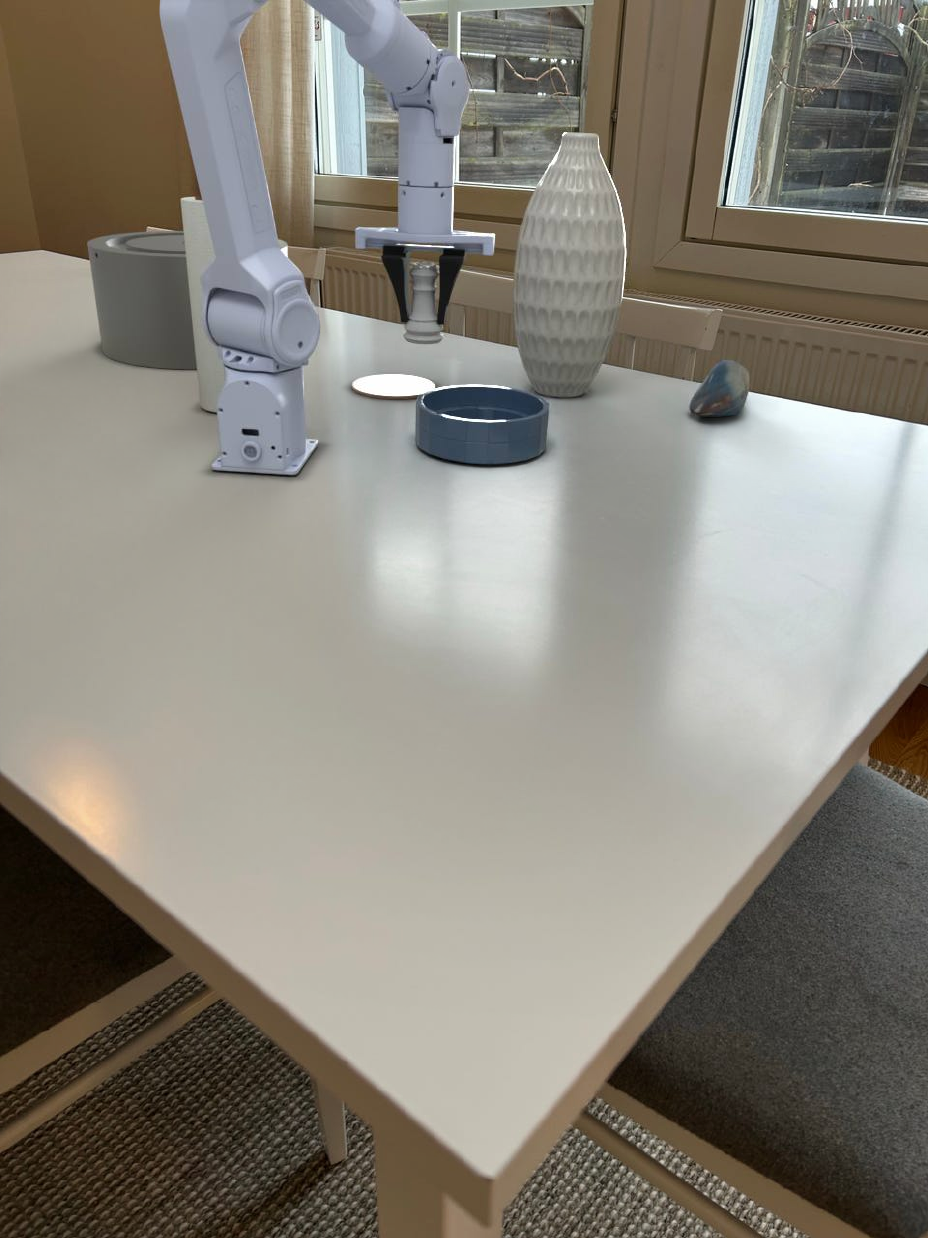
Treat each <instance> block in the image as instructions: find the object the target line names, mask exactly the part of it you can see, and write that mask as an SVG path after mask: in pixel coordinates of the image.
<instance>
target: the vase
mask: <svg viewBox="0 0 928 1238" xmlns="http://www.w3.org/2000/svg"><path fill="white" fill-rule="evenodd" d="M599 140H600V139H599V135H598V134H597V133H593V132H591V133H590V132H571V131H569V132H567V131H566V132H563V134H562V137H561V142H560V146H559V149H558V151H557V152H556V154H555V156H554V157H553V159H552V161H551V163H549V165H548V167H547V168H546V170H545V171H544V173H543V175H542V176H541V178H540V180H539V181H538V183H537V185H536V187H535V189H534V191H533V193H532V195H531V196H530V200H529V201H528V204H527V207H526V210H525V212H524V214H523V219H522V222H521V226H520V229H519V233H518V238H517V242H516V247H515V257H514V267H513V280H512V317H513V329H514V330H513V331H514V335H515V340H516V345H517V350H518V353H519V357H520V360H521V363H522V367H523V369H524V372H525V374H526V376H527V378H528V379H529V383H530V385H531V386H532V388H533V390H534V391H535V392H536V393H537V394H539V395H542V396H545V397H551V398H563V399H564V398H566V399H567V398H576V397H579V396H582V395H583V394H584V393H585V392H586V390H587V389H588V388H589V386H590V385H591V383H592V382H593V380H594V379H595V377H596V376H597V375H598V373H599V372H600V370H601V368H602V365H603V363H604V361H605V359H606V357H607V355H608V352H609V350H610V347H611V345H612V341H613V340H614V336H615V332H616V328H617V324H618V322H619V321H618V320H619V317H620V312H621V306H622V300H623V294H624V285H625V284H624V283H625V274H626V273H625V272H626V258H627V248H626V244H627V243H626V230H625V223H624V216H623V212H622V206H621V202H620V199H619V195H618V193H617V189H616V187H615V185H614V182H613V180H612V177H611V174H610V173H609V170H608V168H607V166H606V164H605V161H604V159H603V157H602V154H601V151H600V145H599V143H600V142H599Z"/></svg>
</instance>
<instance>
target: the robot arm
mask: <svg viewBox="0 0 928 1238" xmlns="http://www.w3.org/2000/svg"><path fill="white" fill-rule="evenodd" d="M269 1H270V0H159V19H160V26H161V30H162V35H163V40H164V43H165V48H166V52H167V56H168V61H169V65H170V69H171V73H172V78H173V82H174V86H175V90H176V94H177V99H178V103H179V107H180V112H181V115H182V120H183V124H184V128H185V132H186V137H187V141H188V145H189V149H190V153H191V158H192V162H193V167H194V170H195V175H196V179H197V184H198V187H199V192H200V196H201V197H202V201H203V205H204V209H205V214H206V218H207V222H208V226H209V231H210V235H211V239H212V243H213V248H214V252H215V256H216V258H215V259H214V260H213V261H212V262H211V264H210V265H209V266H208V267H207V268H206V269H205V270H204V272H203V273H202V274H201V276H200V280H201V284H202V289H203V306H202V324H203V328H204V331H205V334H206V336H207V337H208V339H209V340H210V341H211V343H212V344H214V345H215V346H216V347H218V358H219V359H221V360H223V363H224V364H223V367H224V379H225V385H224V387H223V389H222V391H221V392H220V394H219V396H218V400H217V412H216V417H217V418H216V419H217V420H216V421H217V430H218V440H219V441H218V442H219V453H220V455H219V456H218V457H217V458H216V459H215V460H214V461H213V462H212V463H211V466H210V467H211V469H212V470H214V471H222V472H237V473H238V472H239V473H254V474H269V475H271V474H272V475H282V476H283V475H284V476H287V475H288V476H295V475H297V474H298V473H299V472H300V471H301V469H303V466H305V463H306V462H307V461H308V459H309V458H310V456H311V455H312V454H313V452H314V451H315V449H316V448H317V447H318V445H319V440H318V439H317V438H307V424H306V423H307V422H306V402H305V401H306V399H305V397H306V396H305V379H304V378H305V376H304V375H305V374H304V366H308V365H309V359H310V358H311V357H312V355H313V353H314V352H315V351H316V348H317V347H318V343H319V340H320V336H321V335H320V334H321V319H320V314H319V311H318V309H317V306H316V304H315V303H314V301H313V300H312V298H311V297H310V295H309V293H308V290H307V286H306V281H305V276H304V274H303V273H302V271H301V270H300V269H299V268H298V267H297V265H295V264H294V262H293V261H292V260H291V259H290V258H289V256H288V257H287V256H286V255H285V254H284V253H283V252H282V250H281V249H280V247H279V242H278V239H279V238H278V233H277V227H276V222H275V218H274V211H273V208H272V207H273V206H272V201H271V197H270V192H269V191H270V190H269V187H268V180H267V176H266V172H265V166H264V161H263V155H262V151H261V145H260V140H259V136H258V130H257V129H258V128H257V124H256V120H255V115H254V109H253V104H252V100H251V99H252V98H251V94H250V89H249V84H248V79H247V73H246V67H245V63H244V58H243V52H242V47H241V37H242V35H243V33H244V31H245V30H246V28H247V26H248V24H249V23H250V21H251V20H252V18H253V16H254V15H255V14H256V12H258V11H259V10H260V9H261V8H262V7H263V6H264V5H266V4H267V3H268V2H269ZM303 1H304V2H305V3H306V4H307V5H308V6H310V7H311V8H312V9H314V10H315V11H316V12H317V13H318V14H320V15H321V16H322V17H324V18H325V19H326V20H327V21H329V22H330V23H331V24H332V25H334V26H335V27H336V28H337V29H339V30H340V31H341V32H343V34H344V45H345V49H346V51H347V54H348V56H349V57H350V58H352V59H353V60H354V61H355V62H356V63H357V64H358V65H359V66H361V67H362V68H363V69H364V70H365V71H367V72H368V74H370V75H371V76H372V77H373V78H374V79H375V80H376V81H377V82H379V83H380V85H381V86H382V88H383V90H384V92H385V96H386V100H387V102H388V104H389V107H390V108H391V110H392V111H393V112H397V113H398V116H397V117H398V118H397V120H398V121H397V123H398V126H397V127H398V128H397V131H398V133H397V134H398V135H397V137H398V140H397V141H398V143H397V145H398V147H397V150H398V152H397V153H398V155H397V156H398V157H397V158H398V159H397V160H398V161H397V166H398V167H397V184H398V185H397V227H365V226H358V227H356V228H355V230H354V238H355V239H354V240H355V242H354V243H355V245H354V246H355V247H354V248H355V249H357V250H367V249H376V250H377V249H379V250H382V255H381V256H380V258H381V262H382V264H383V267H384V268H385V271H386V273H387V275H388V277H389V280H390V283H391V286H392V287H393V292H394V294H395V298H396V301H397V302H396V303H397V306H398V310H399V318H400V323H404V324H405V323H407V322H408V316H409V315H410V313H411V298H410V297H411V296H410V276H411V275H410V274H409V272H410V271H411V257H412V255H411V254H412V251H415V252H416V251H417V252H435V253H436V252H437V253H442V254H440V256H438V269H439V270H438V272H439V276H438V277H439V278H438V279H439V281H438V282H439V283H438V284H439V289H438V290H439V295H438V305H437V321H438V324H439V325H442V326H444V325H445V324H446V322H447V315H448V309H449V305H450V300H451V297H452V293H453V290H454V288H455V285H456V282H457V279H458V277H459V274H460V272H461V271H462V268H463V265H464V264H465V261H466V258H467V256H468V255H467V254H474V255H483V256H489V257H491V256H494V254H495V240H496V234H495V233H484V232H475V231H474V232H473V231H471V232H470V231H464V230H453V228H454V227H453V226H454V197H455V196H454V195H455V194H454V193H455V191H454V190H455V166H456V165H455V163H456V159H455V158H456V137H457V136H459V135H460V131H461V130H462V116H463V112H464V110H465V108H466V106H467V103H468V101H469V97H470V91H471V84H470V83H469V82H468V74H467V70H466V67H465V65H464V63H463V61H462V60H461V59H460V58H459V57H458V56H457V54H456V53H455V52H453V51H452V50H450V49H438V48H437V47H436V45H435V44H434V43H433V42H431V40H430V36H429V34H428V33H426V32H425V30H424V31H423V30H420V29H419V28H418V27H417V26H416V25H415V24H414V23H413V21H411V20H410V19H409V18H408V17H407V16H406V14H404V13H403V12H402V11H401V10H402V4H401V2H399V1H398V0H303ZM408 243H414V244H408ZM425 244H427V245H425ZM428 244H437V245H428ZM438 244H439V245H438ZM440 244H441V245H440Z"/></svg>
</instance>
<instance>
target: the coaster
mask: <svg viewBox="0 0 928 1238" xmlns="http://www.w3.org/2000/svg"><path fill="white" fill-rule="evenodd" d="M351 389H352V390H353V392H355V393H357V394H359V395H361V396H365V397H368V398H369V397H370V398H374V399H382V400H409V399H410V400H411V399H417V398H418V396H419V395H421V394H423V393H425V392H426V391H429V390H433V389H436V385H435V383H434V382H432V381H431V380H429V379H427V378H423V377H420V376H415V375H409V374H396V373H395V374H392V373H386V374H385V373H384V374H373V375H366V376H363V377H362V376H361V377H359V378H357V379H355V380H353V381H352V383H351Z"/></svg>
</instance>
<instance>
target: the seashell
mask: <svg viewBox="0 0 928 1238" xmlns="http://www.w3.org/2000/svg"><path fill="white" fill-rule="evenodd" d="M750 382H751V378H750V372H749V370H748V369H747V368H745V366H743V365H741V364H740V363H738V362H737V361H734V360H730V359H723V360H721V361H719V362H718V363H717V364H716V365H715V366H714V367H712V369H711V370H710V371H709V373H708V374H707V375H706V377H705V378H704V379H703V381H702V382H701V384H700V385H699V387H698V388H697V390H696V391H695V392H694V394H693V396H692V398H691V400H690V403H689V406H688V409H689V411H690V412H691V413H692V414H694V415H695V416H699V417H702V418H714V417H716V418H717V417H718V418H719V417H728V416H733V415H737V414H739V413H741V412H742V410H743V409H744V406H745V404H746V402H747V400H748V396H749V392H750V386H751V385H750V384H751V383H750Z"/></svg>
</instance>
